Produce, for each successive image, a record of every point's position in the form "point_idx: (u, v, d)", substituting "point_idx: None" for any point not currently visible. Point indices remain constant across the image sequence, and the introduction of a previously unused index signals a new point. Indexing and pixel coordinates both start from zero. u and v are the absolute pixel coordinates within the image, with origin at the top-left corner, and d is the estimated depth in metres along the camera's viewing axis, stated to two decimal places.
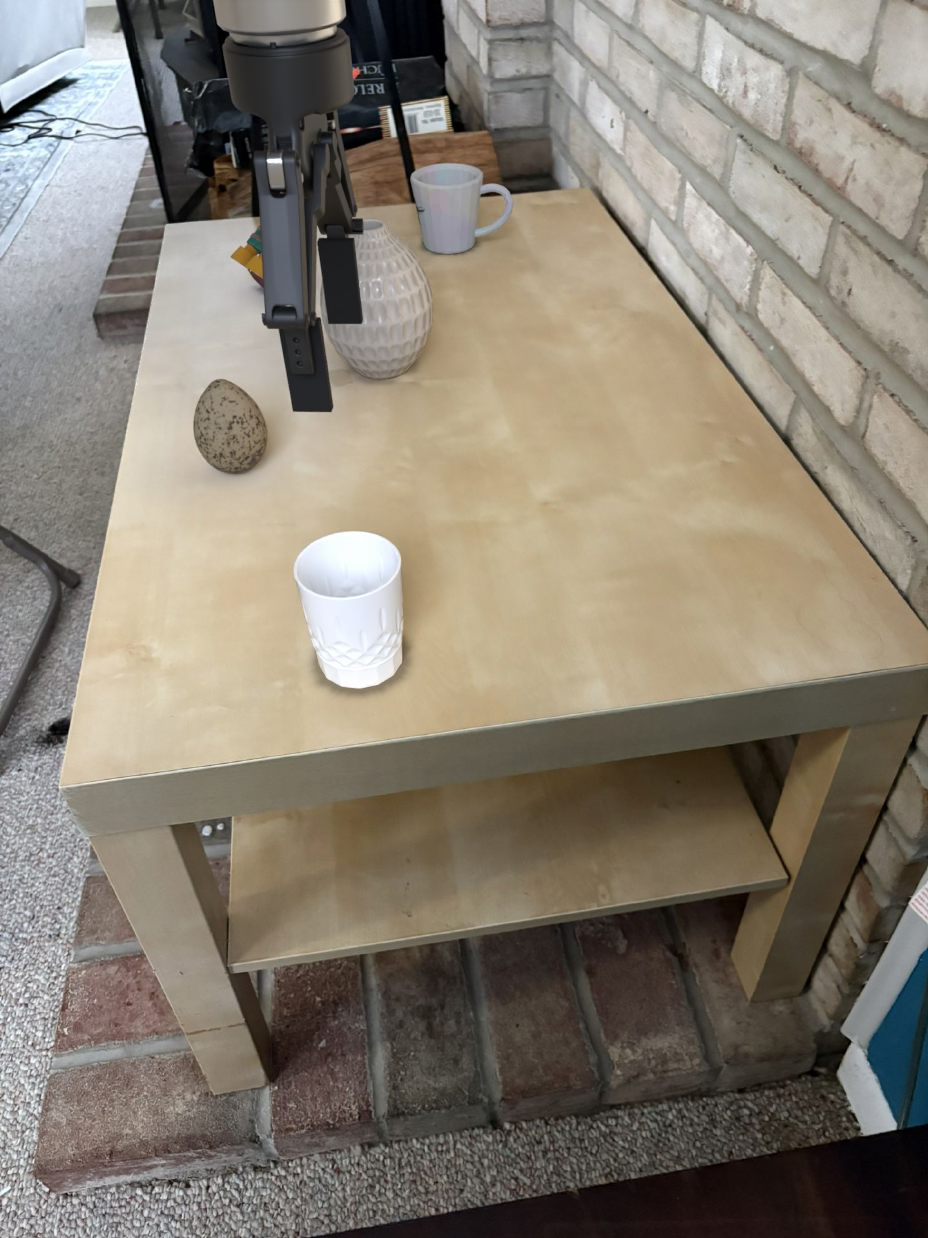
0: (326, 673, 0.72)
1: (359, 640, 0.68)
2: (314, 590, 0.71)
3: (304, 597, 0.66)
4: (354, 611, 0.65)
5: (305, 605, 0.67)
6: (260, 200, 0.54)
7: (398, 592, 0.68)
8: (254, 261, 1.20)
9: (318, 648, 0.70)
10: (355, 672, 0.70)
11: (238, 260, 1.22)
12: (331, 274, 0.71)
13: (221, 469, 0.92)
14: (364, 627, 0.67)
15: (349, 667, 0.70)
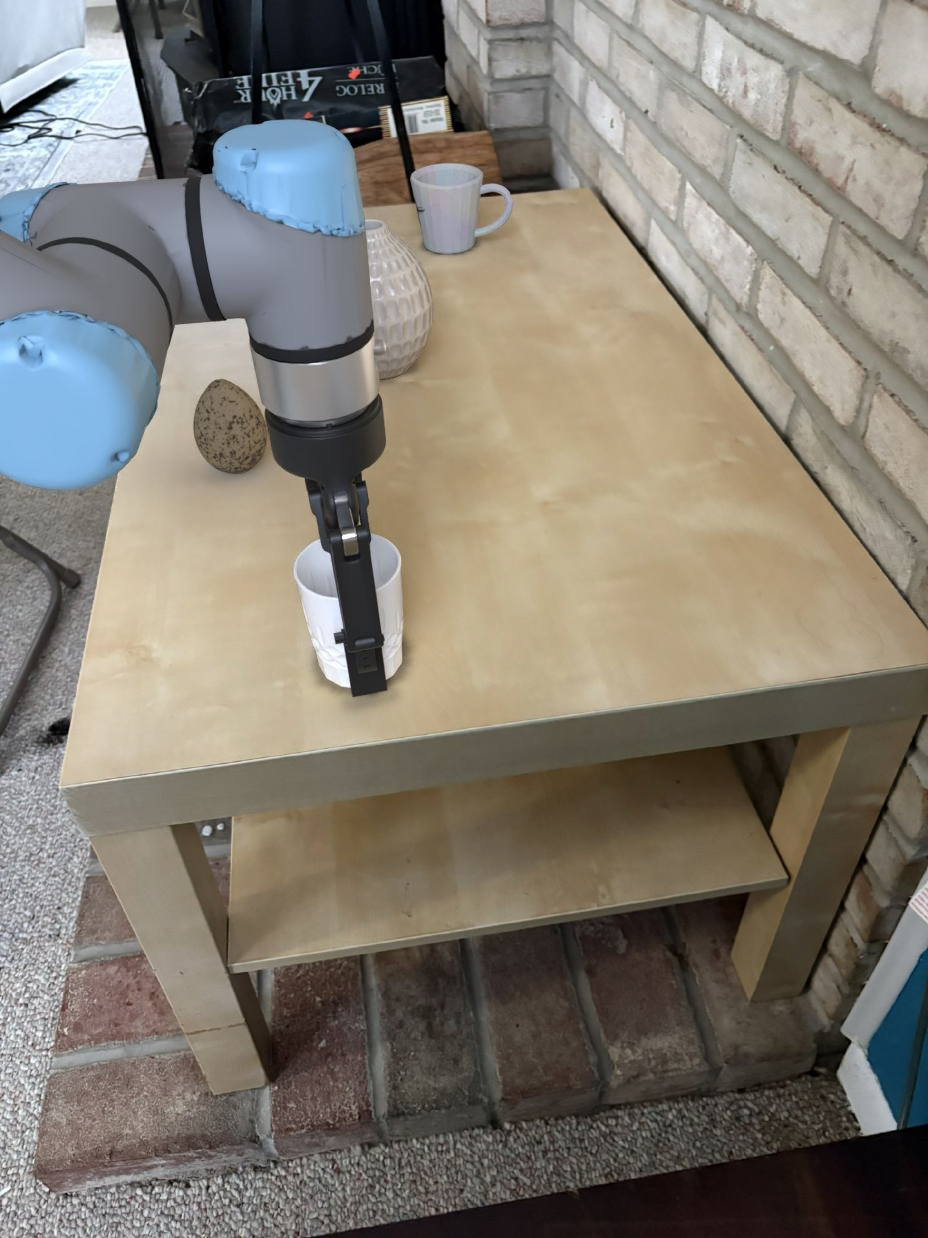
0: (326, 673, 0.72)
1: None
2: (314, 590, 0.71)
3: (304, 597, 0.66)
4: None
5: (305, 605, 0.67)
6: (335, 566, 0.59)
7: (398, 592, 0.68)
8: None
9: (318, 648, 0.70)
10: None
11: None
12: None
13: (221, 469, 0.92)
14: None
15: None
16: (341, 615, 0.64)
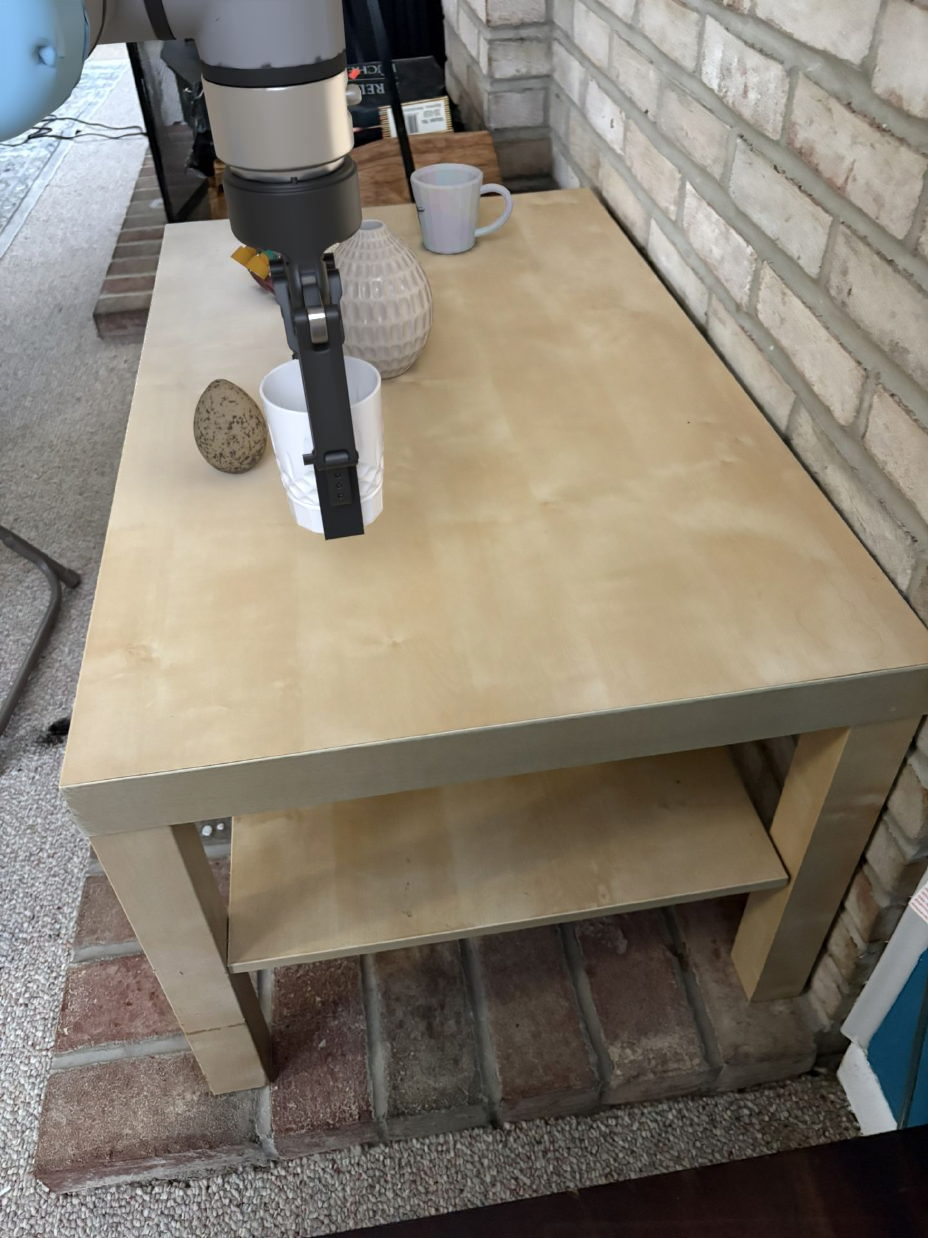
0: (297, 517, 0.64)
1: None
2: None
3: (271, 416, 0.59)
4: None
5: (272, 428, 0.59)
6: (301, 356, 0.51)
7: (377, 416, 0.60)
8: (254, 261, 1.20)
9: (287, 484, 0.62)
10: None
11: (238, 260, 1.22)
12: None
13: (221, 469, 0.92)
14: None
15: None
16: (310, 429, 0.56)
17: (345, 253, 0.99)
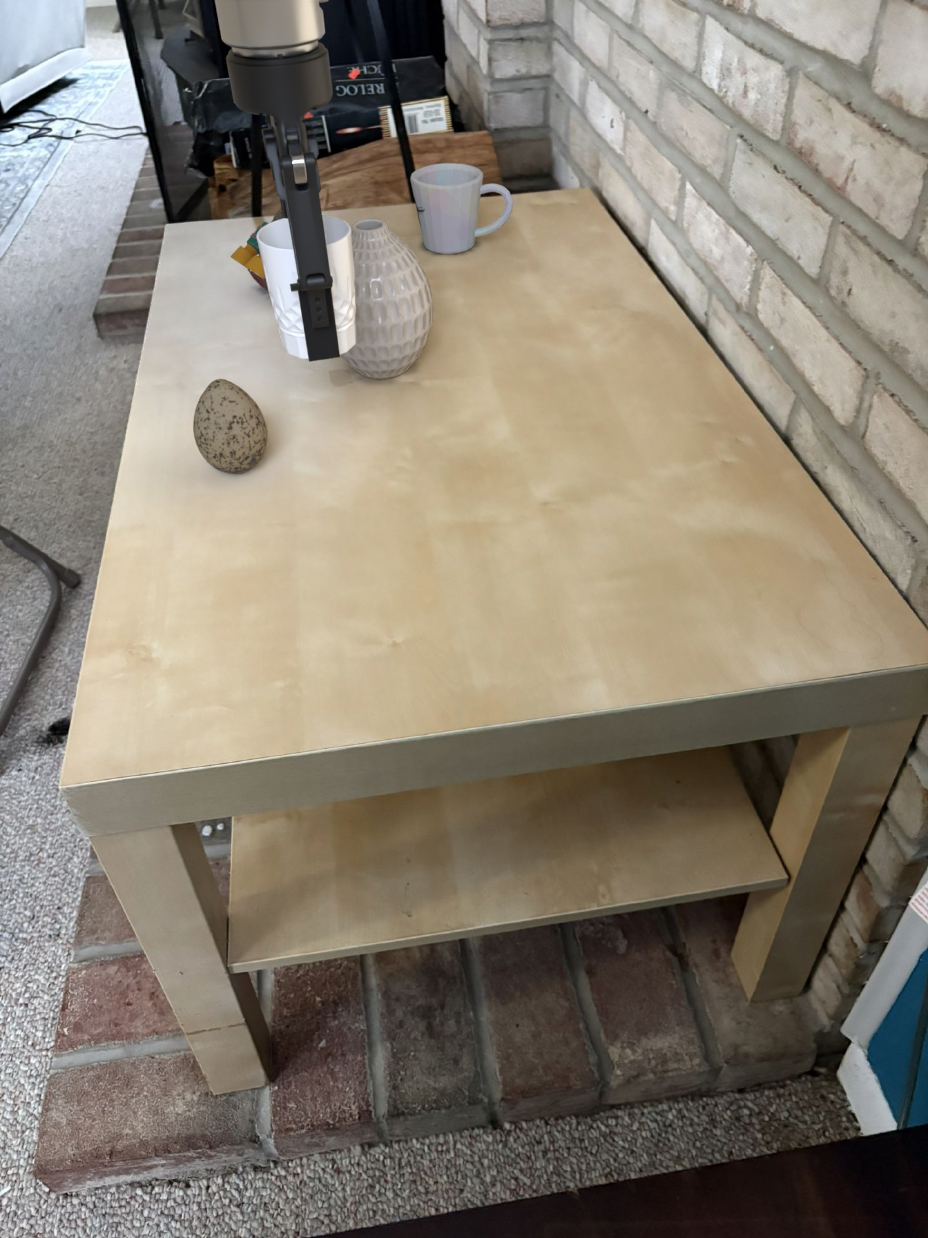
0: (287, 347, 0.81)
1: None
2: None
3: (265, 256, 0.76)
4: None
5: (266, 266, 0.77)
6: (287, 194, 0.69)
7: (348, 258, 0.77)
8: (254, 261, 1.20)
9: (279, 316, 0.79)
10: None
11: (238, 260, 1.22)
12: None
13: (221, 469, 0.92)
14: None
15: None
16: (295, 261, 0.73)
17: None
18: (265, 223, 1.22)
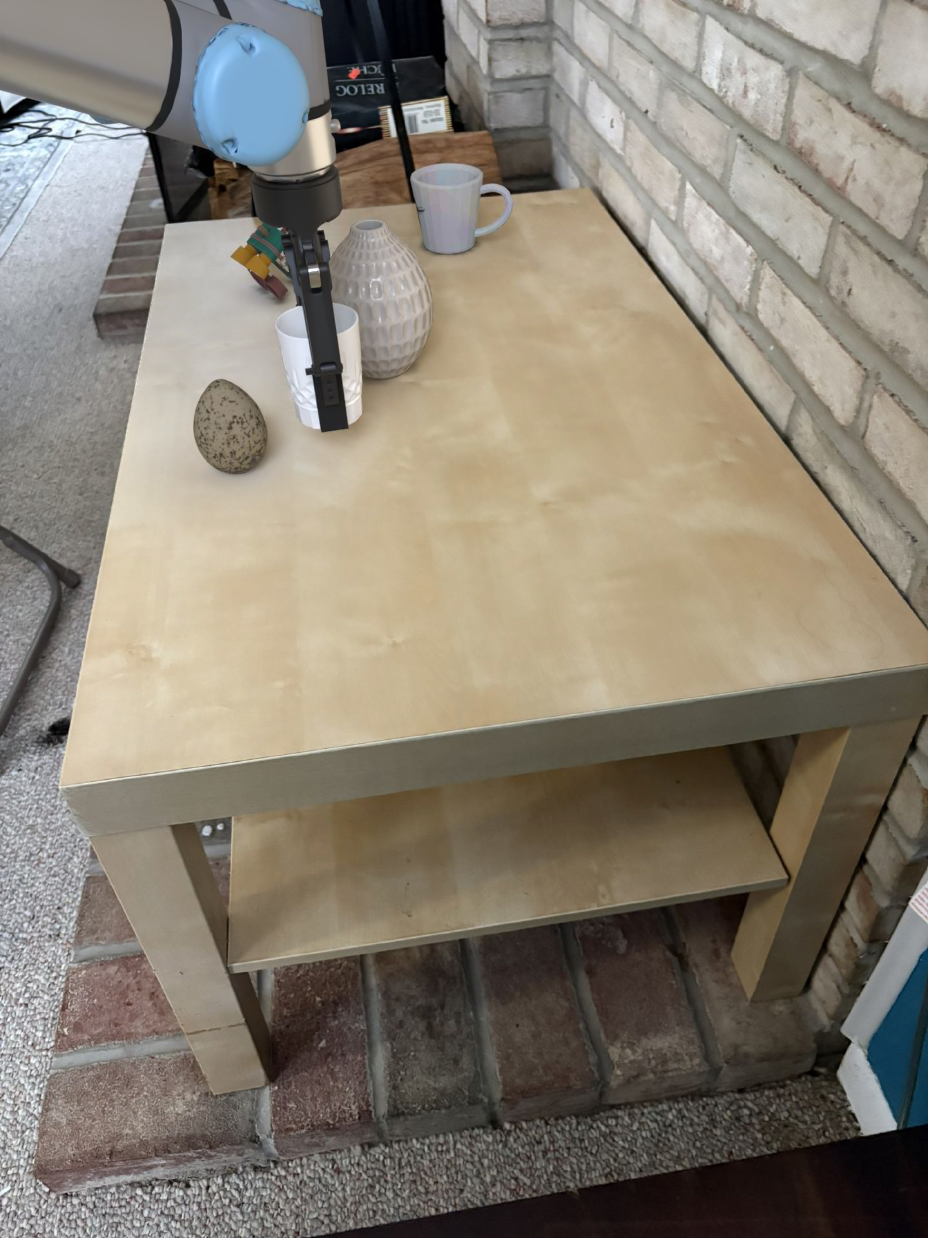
0: (301, 418, 0.91)
1: None
2: None
3: (283, 343, 0.86)
4: None
5: (284, 351, 0.86)
6: (304, 296, 0.79)
7: (356, 343, 0.87)
8: (254, 261, 1.20)
9: (295, 393, 0.89)
10: None
11: (238, 260, 1.22)
12: None
13: (221, 469, 0.92)
14: None
15: None
16: (310, 350, 0.83)
17: (345, 253, 0.99)
18: None
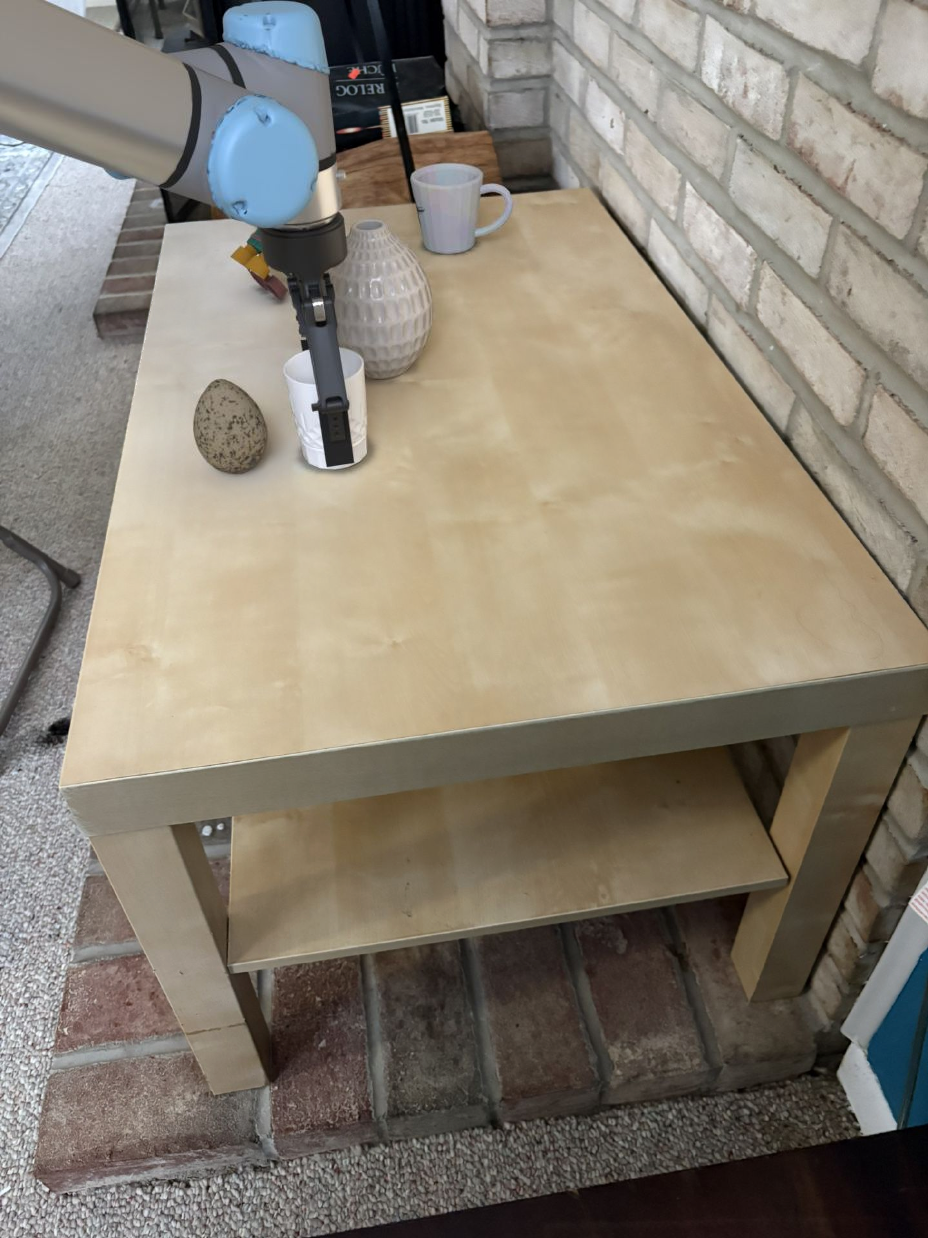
0: (308, 458, 0.95)
1: None
2: None
3: (291, 388, 0.89)
4: None
5: (292, 395, 0.90)
6: (308, 330, 0.80)
7: (361, 387, 0.90)
8: (254, 261, 1.20)
9: (302, 434, 0.93)
10: None
11: (238, 260, 1.22)
12: None
13: (221, 469, 0.92)
14: None
15: None
16: (316, 385, 0.83)
17: None
18: None
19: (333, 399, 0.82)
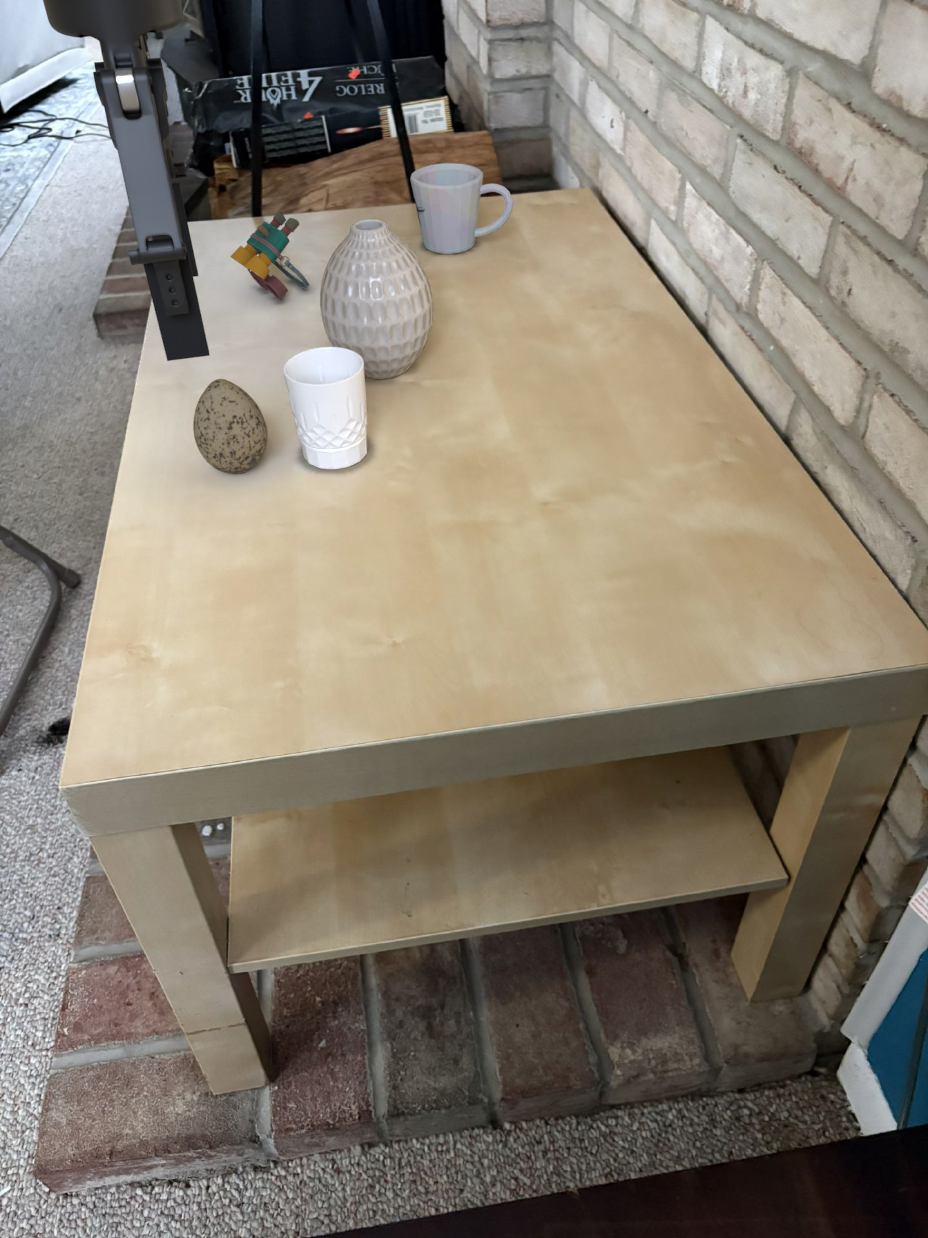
0: (308, 458, 0.95)
1: (332, 423, 0.90)
2: None
3: (291, 388, 0.89)
4: (328, 396, 0.88)
5: (292, 395, 0.90)
6: (113, 123, 0.51)
7: (361, 387, 0.90)
8: (254, 260, 1.20)
9: (302, 434, 0.93)
10: (330, 453, 0.93)
11: (238, 260, 1.22)
12: None
13: (221, 469, 0.92)
14: (336, 411, 0.89)
15: (325, 448, 0.92)
16: None
17: (345, 253, 0.99)
18: (265, 223, 1.22)
19: (159, 240, 0.53)
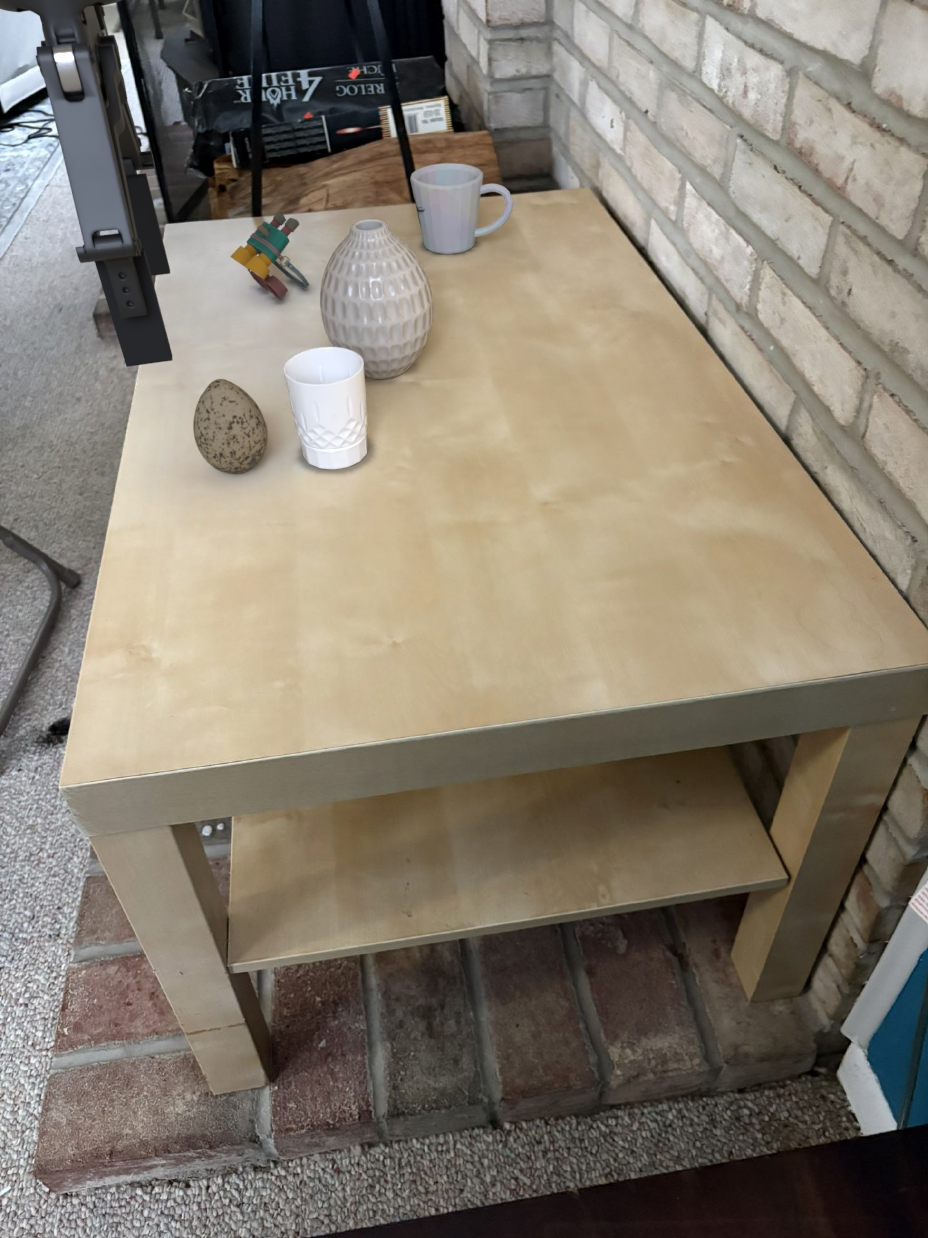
0: (308, 458, 0.95)
1: (332, 423, 0.90)
2: None
3: (291, 388, 0.89)
4: (328, 396, 0.88)
5: (292, 395, 0.90)
6: (53, 106, 0.46)
7: (361, 387, 0.90)
8: (254, 261, 1.20)
9: (302, 434, 0.93)
10: (330, 453, 0.93)
11: (238, 260, 1.22)
12: None
13: (221, 469, 0.92)
14: (336, 411, 0.89)
15: (325, 448, 0.92)
16: None
17: (345, 253, 0.99)
18: (265, 223, 1.22)
19: (107, 235, 0.48)
